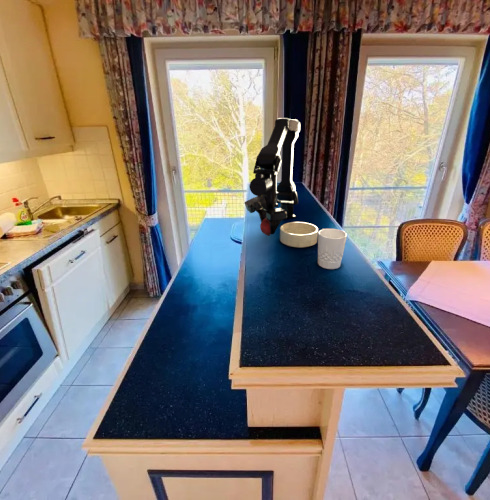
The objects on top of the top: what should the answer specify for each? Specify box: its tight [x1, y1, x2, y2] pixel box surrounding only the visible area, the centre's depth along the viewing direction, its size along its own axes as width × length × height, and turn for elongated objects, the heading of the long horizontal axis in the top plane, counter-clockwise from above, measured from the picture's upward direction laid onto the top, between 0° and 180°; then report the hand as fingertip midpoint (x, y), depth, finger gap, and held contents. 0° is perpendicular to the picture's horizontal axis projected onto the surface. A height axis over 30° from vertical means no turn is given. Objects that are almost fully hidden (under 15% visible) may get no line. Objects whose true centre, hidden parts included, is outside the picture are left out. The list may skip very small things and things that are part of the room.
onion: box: [259, 218, 271, 237], centre depth 104 cm, size 6×6×8 cm
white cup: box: [317, 228, 348, 270], centre depth 82 cm, size 8×8×10 cm
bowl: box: [279, 221, 319, 248], centre depth 100 cm, size 13×13×5 cm
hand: (268, 230), depth 105 cm, fingers open, 8 cm apart
